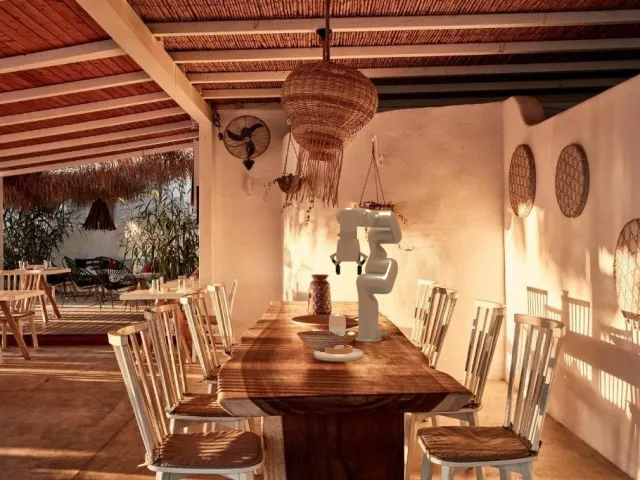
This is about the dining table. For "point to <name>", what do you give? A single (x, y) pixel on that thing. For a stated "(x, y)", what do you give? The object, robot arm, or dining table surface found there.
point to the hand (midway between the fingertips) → (348, 274)
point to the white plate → (339, 354)
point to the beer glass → (337, 326)
